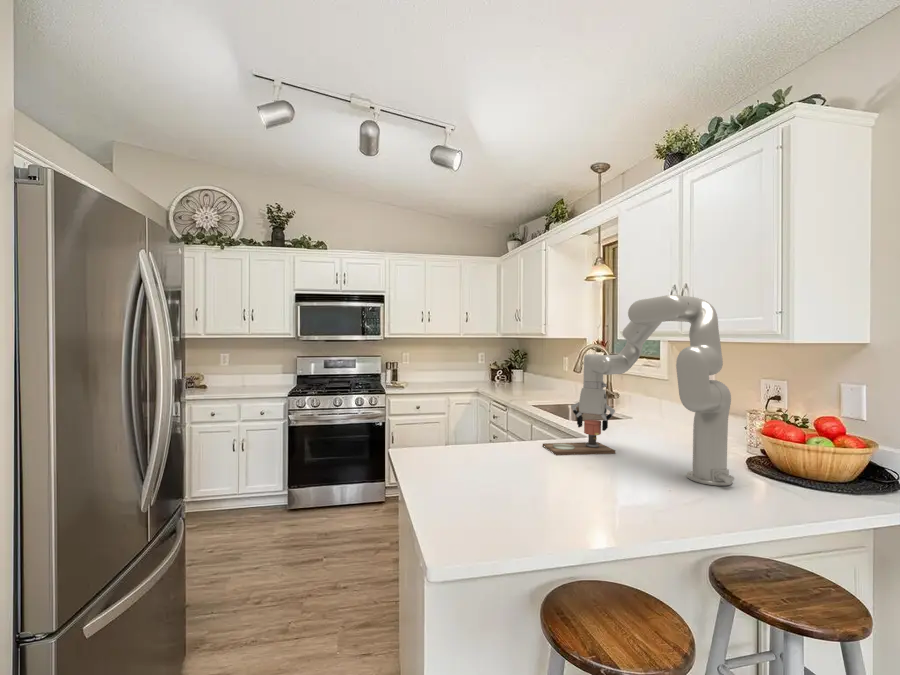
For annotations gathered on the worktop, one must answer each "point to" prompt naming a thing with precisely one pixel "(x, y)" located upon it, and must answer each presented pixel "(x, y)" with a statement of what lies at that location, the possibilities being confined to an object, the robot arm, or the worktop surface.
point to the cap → (592, 427)
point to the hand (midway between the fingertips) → (592, 428)
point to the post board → (579, 447)
